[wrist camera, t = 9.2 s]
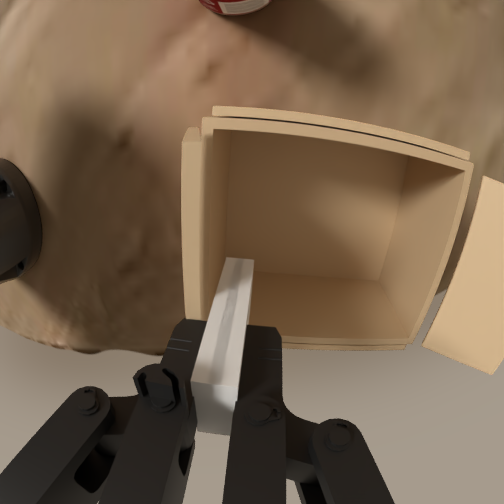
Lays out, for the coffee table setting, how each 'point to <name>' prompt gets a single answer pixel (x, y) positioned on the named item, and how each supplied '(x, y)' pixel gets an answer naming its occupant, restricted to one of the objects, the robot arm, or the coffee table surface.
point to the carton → (328, 223)
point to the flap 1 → (191, 220)
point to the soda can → (234, 6)
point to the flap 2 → (476, 290)
